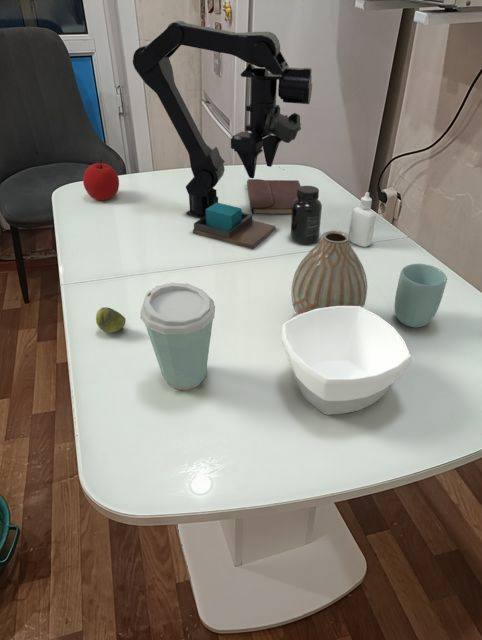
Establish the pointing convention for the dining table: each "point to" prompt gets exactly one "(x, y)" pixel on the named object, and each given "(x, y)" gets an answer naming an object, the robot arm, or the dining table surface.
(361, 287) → the vase
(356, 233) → the eye dropper bottle
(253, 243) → the brown wooden tray
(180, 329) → the disposable coffee cup
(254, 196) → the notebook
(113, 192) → the apple
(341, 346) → the bowl
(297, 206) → the supplement bottle
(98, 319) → the lime
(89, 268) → the dining table surface
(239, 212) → the block
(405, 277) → the cup
